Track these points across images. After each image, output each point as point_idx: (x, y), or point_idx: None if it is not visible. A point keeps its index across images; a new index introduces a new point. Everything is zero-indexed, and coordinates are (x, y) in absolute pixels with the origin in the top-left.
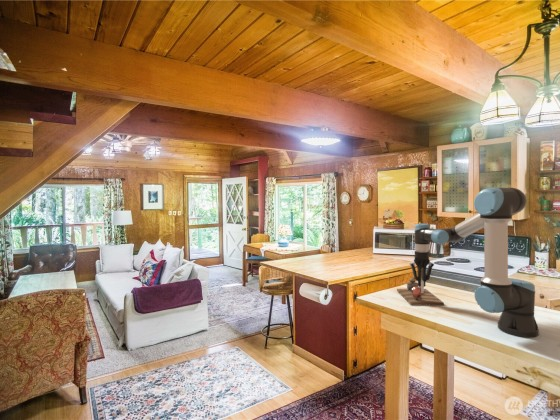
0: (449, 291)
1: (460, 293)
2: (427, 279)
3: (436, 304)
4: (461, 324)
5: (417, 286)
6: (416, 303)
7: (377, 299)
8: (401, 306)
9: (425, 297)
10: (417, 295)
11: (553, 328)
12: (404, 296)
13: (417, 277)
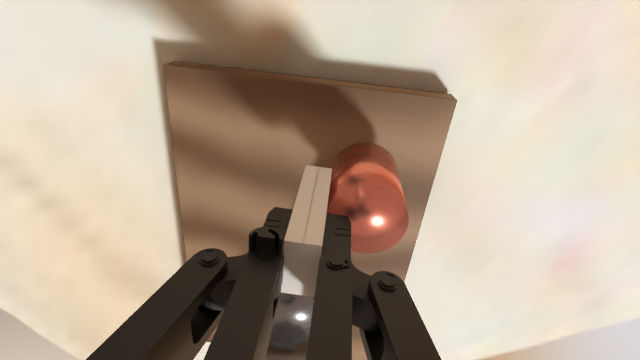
0: (64, 308)
1: (7, 273)
2: (219, 255)
3: (231, 69)
4: None
5: None
6: (402, 91)
7: (621, 248)
8: (547, 77)
9: (266, 201)
10: (374, 152)
11: None
12: (415, 242)
13: (378, 304)
